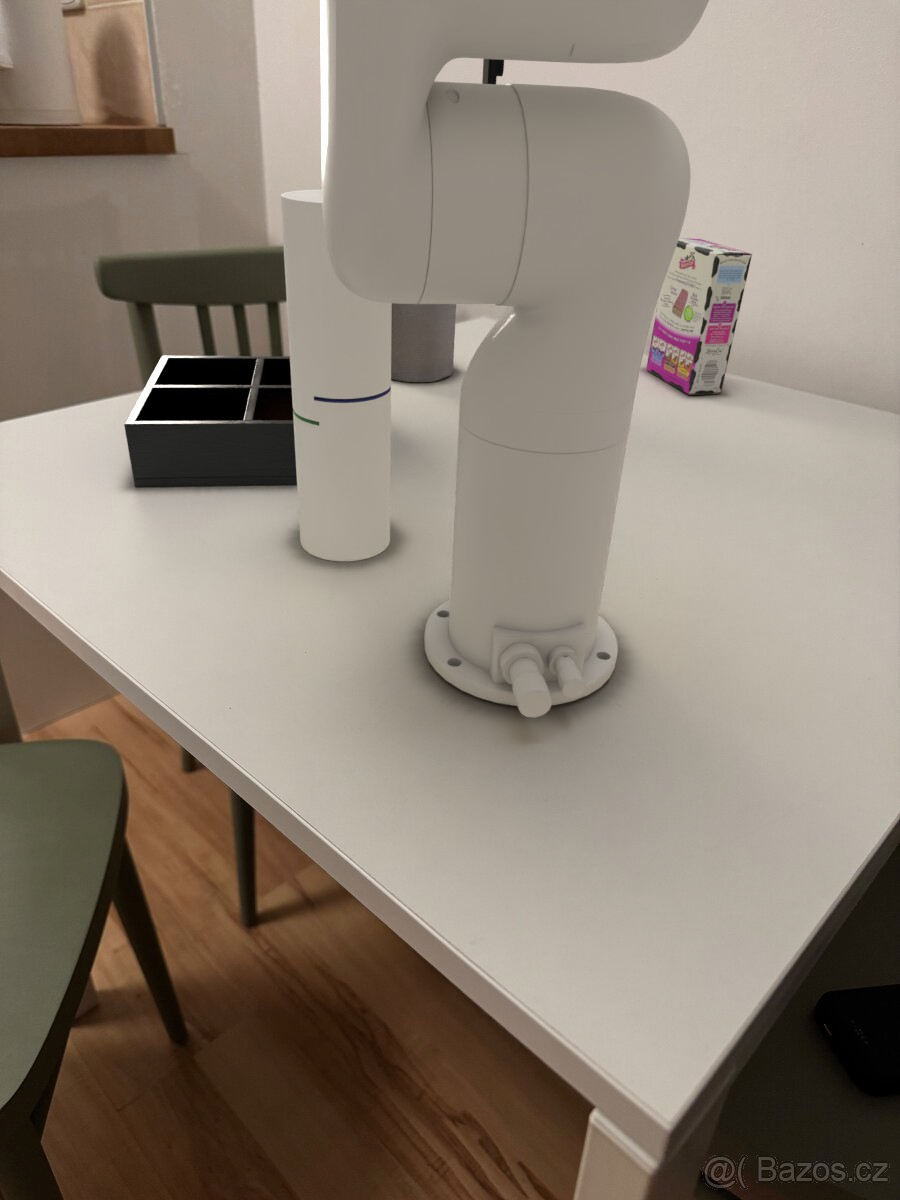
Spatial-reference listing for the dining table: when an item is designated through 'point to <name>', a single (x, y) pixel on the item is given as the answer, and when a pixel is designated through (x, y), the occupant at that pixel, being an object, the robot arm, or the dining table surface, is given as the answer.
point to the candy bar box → (698, 315)
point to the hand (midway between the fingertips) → (432, 84)
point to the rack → (214, 423)
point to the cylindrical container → (336, 394)
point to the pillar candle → (422, 341)
